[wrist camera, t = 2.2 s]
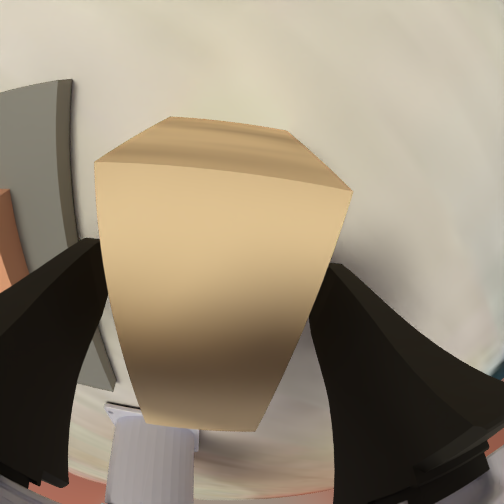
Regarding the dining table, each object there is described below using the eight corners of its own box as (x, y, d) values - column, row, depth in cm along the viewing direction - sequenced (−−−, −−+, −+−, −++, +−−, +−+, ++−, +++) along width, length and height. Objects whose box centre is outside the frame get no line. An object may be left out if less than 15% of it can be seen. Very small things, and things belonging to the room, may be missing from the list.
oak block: (246, 318, 14) (255, 431, 9) (165, 311, 13) (145, 423, 8) (286, 130, 9) (353, 191, 4) (170, 116, 9) (94, 161, 4)
